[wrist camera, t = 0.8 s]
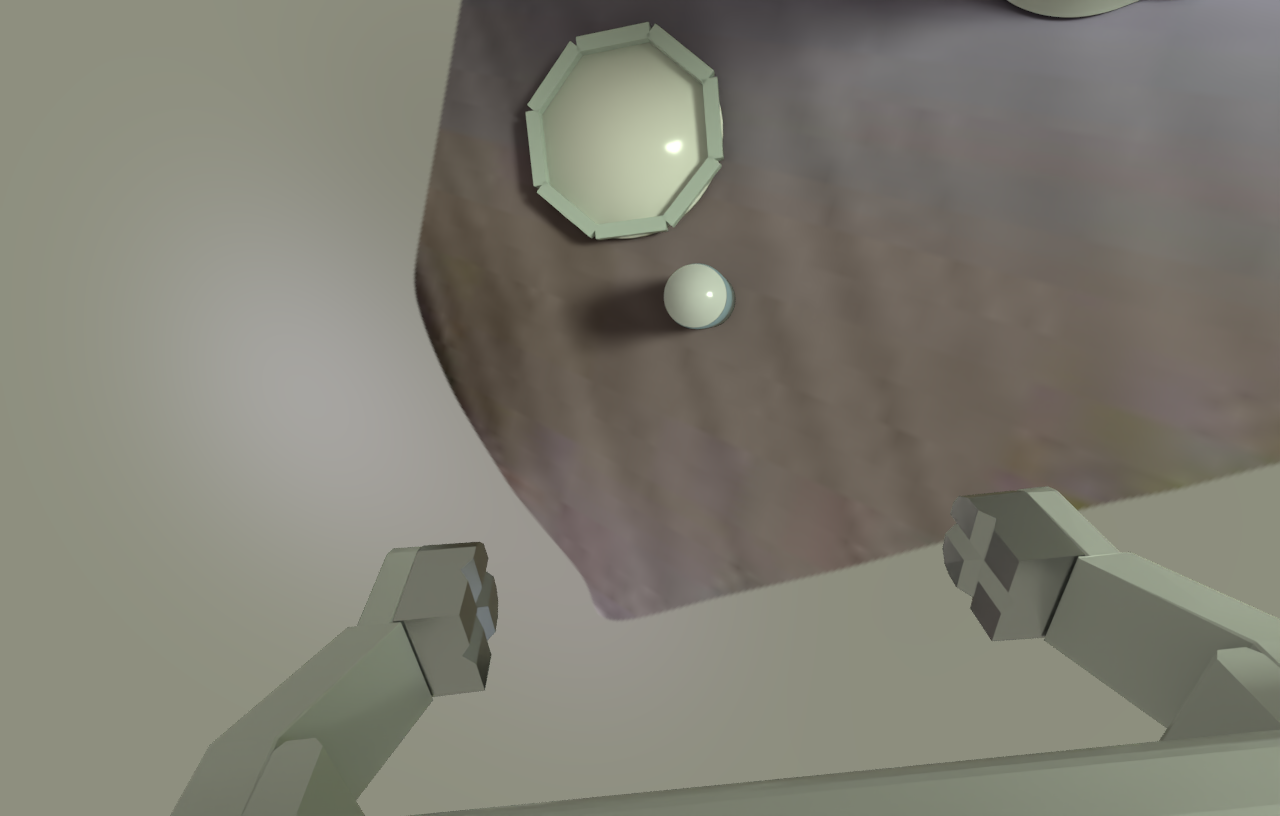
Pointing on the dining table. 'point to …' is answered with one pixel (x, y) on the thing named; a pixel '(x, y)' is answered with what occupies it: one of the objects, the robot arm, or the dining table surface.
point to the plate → (625, 132)
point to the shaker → (699, 297)
